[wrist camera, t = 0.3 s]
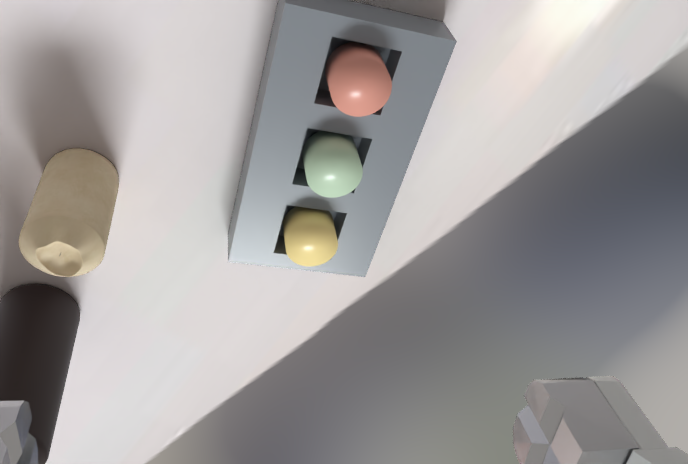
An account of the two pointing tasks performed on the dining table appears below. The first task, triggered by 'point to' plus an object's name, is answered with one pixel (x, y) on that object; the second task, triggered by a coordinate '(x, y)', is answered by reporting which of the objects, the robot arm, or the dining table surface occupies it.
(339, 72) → the brick button
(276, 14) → the button panel
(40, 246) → the candle
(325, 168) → the sage button
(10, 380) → the bottle
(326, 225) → the mustard button
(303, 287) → the dining table surface
